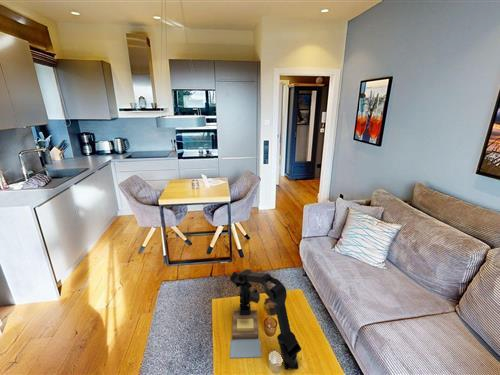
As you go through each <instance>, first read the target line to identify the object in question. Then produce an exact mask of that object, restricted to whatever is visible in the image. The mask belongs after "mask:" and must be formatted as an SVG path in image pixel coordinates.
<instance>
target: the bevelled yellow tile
mask: <svg viewBox="0 0 500 375" xmlns="http://www.w3.org/2000/svg"><path fill="white" fill-rule="evenodd" d="M237 331H254V325H253V319H237Z"/></svg>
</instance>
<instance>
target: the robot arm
mask: <svg viewBox="0 0 500 375" xmlns="http://www.w3.org/2000/svg"><path fill="white" fill-rule="evenodd" d="M229 281H230V282H231V284H233V285H234V286H235V287H237V288H238V287H239V310H238V311H239V315H251V310H252V309H251V308H252V307H251V303H255V304H259V301H260V299H261V297H260V292H258V289H257V288H254V289H253V290H252V291H251V288H252V287H253V285H252V283H256V284H261V285H262V286H263V291H264V294H265V295H267V298H270V301H271V302H272V303H273V304H274V305H275V309H276V314H275V315H276V318H277V323H278V327H279V332H280V333H279V334H278V335H277V337H276V339H277V341H278V346H279V350H280V353H281V354H280V355H281V356H282V358H284V360H283V365H284V369H285V370H298V369H299V365H298V364H299V362H298V360H297V358H298V353H300V352H301V351H302V347H301V345H300V344H299V341H298V340H297V338H296V334H295V333H294V332H292V329H291V326H290V322H289V316H288V312H287V308H286V301H287V289H286V287H285V285H284V284H283V283H282V282H281V281H280V280H279V279H277V278H275V277H273V276H272V275H271V274H270V273H263V272H262V273H259V272H252V270H250V269H248V268H246V269H244V270H242V271H240V272H239V273H238V272H236V271H233V272H232V274H231V275H230V278H229ZM268 283H271V284H274V286H272V287H271V288H270V289H269V288H268V285H267V284H268Z"/></svg>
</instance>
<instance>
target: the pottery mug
mask: <svg viewBox="0 0 500 375" xmlns="http://www.w3.org/2000/svg"><path fill="white" fill-rule="evenodd" d="M263 305H264V306H267V307H268V308H269V310H266V313H267V315H269V316H274V315H277V314H276V309H275V305H274V304H273V303H272V302H271V301H270V298H269V297H266V298H265V299H264V302H263Z"/></svg>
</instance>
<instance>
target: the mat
mask: <svg viewBox="0 0 500 375" xmlns="http://www.w3.org/2000/svg"><path fill="white" fill-rule="evenodd" d="M261 344H262V343H261V338H258V339H238V340H232V339H230V345H229V346H230V347H229V359H251V358H252V359H254V358H256V359H257V358H258V359H259V358H262V357H263V356H262V345H261Z"/></svg>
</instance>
